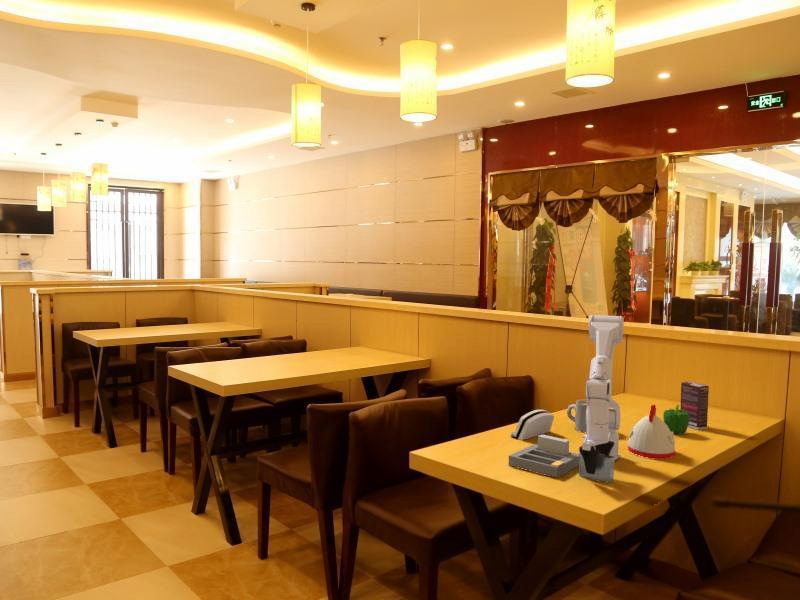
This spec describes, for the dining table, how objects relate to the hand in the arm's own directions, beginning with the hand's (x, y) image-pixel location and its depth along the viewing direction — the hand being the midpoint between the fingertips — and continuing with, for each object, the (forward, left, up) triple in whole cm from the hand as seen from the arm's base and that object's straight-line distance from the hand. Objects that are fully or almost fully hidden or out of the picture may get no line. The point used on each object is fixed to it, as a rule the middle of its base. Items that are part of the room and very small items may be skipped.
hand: (596, 469), depth 173 cm
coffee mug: (-46, -24, -3) cm, 52 cm away
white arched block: (-26, -34, -3) cm, 43 cm away
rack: (-1, -16, -2) cm, 16 cm away
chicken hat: (-35, +3, -3) cm, 35 cm away
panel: (0, 0, -2) cm, 2 cm away
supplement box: (-76, +4, -3) cm, 76 cm away
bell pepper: (-63, +2, -3) cm, 63 cm away
